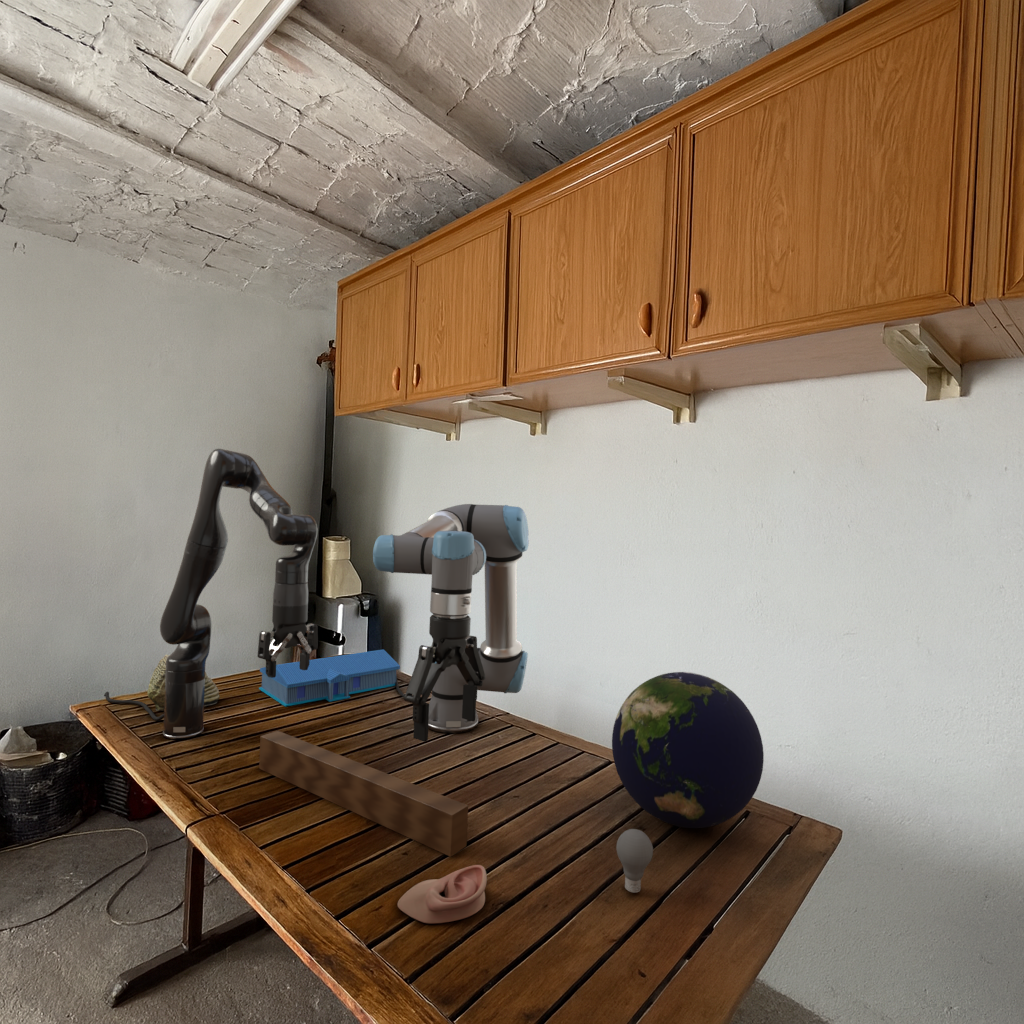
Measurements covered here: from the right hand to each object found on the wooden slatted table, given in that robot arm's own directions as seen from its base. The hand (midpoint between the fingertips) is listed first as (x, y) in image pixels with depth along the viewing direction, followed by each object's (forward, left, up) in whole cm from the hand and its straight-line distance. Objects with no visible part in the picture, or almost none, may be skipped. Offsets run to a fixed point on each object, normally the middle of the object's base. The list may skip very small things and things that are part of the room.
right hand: (445, 729), depth 117 cm
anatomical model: (+17, 0, -22) cm, 28 cm away
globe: (-6, +50, -22) cm, 54 cm away
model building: (-95, -34, -22) cm, 103 cm away
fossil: (-78, -73, -22) cm, 109 cm away
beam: (-16, -18, -22) cm, 33 cm away
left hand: (-32, -35, +1) cm, 47 cm away
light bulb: (+16, +32, -22) cm, 41 cm away
